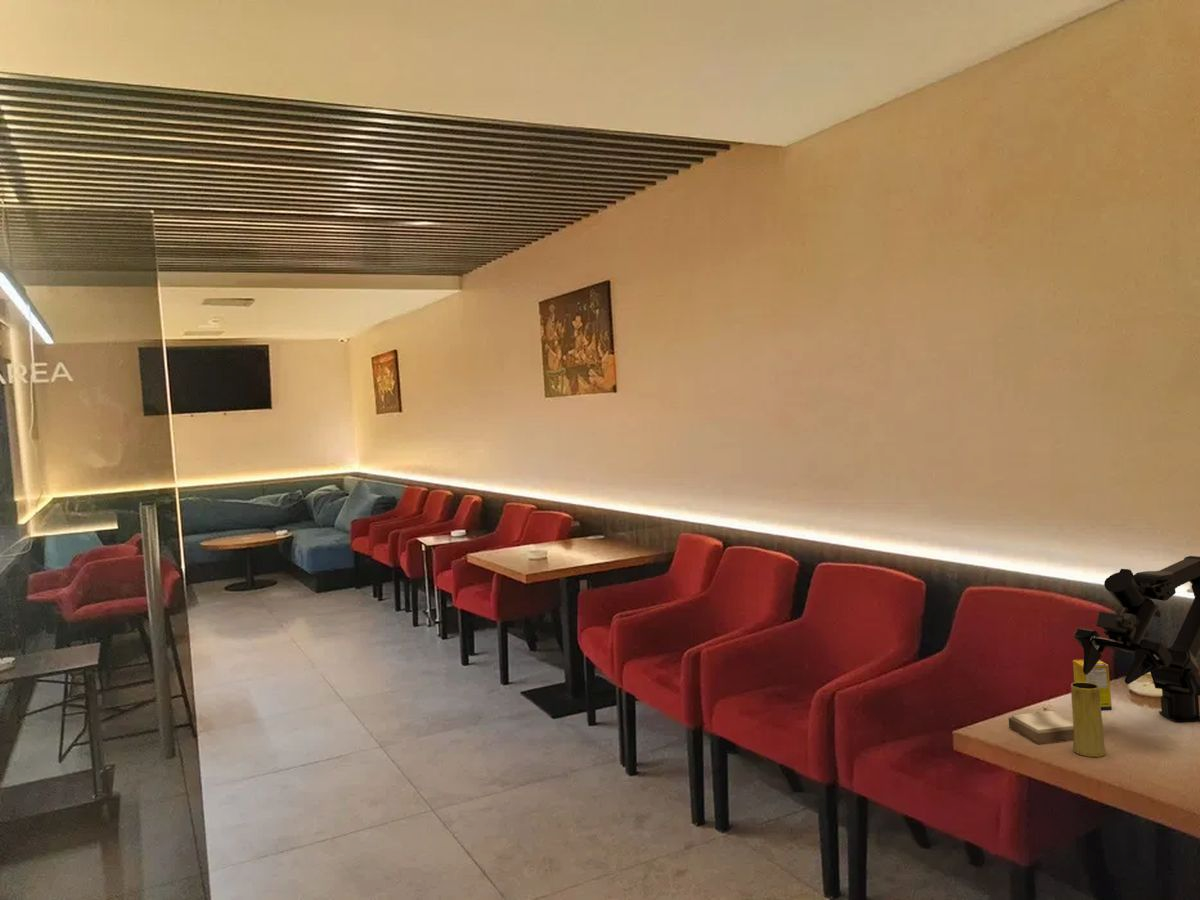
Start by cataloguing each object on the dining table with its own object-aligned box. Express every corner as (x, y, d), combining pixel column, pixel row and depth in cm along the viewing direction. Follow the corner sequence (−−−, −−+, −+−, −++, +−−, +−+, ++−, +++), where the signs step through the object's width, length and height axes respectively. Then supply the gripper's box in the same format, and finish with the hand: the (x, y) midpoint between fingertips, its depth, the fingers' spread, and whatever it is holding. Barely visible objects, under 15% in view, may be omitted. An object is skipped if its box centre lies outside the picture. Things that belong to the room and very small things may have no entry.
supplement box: (1100, 702, 209) (1097, 658, 209) (1112, 710, 203) (1109, 664, 203) (1074, 703, 210) (1071, 659, 209) (1086, 711, 204) (1083, 665, 203)
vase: (1094, 759, 175) (1089, 691, 175) (1066, 751, 181) (1062, 684, 181) (1112, 752, 178) (1107, 685, 178) (1084, 744, 184) (1079, 679, 184)
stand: (1053, 722, 198) (1052, 710, 198) (1085, 738, 187) (1084, 725, 187) (1009, 727, 197) (1008, 715, 196) (1038, 744, 186) (1037, 730, 186)
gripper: (1076, 592, 194) (1046, 647, 189) (1160, 604, 177) (1130, 664, 172) (1100, 622, 197) (1071, 677, 193) (1185, 636, 181) (1156, 696, 176)
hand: (1105, 678), depth 183 cm, fingers open, 9 cm apart
